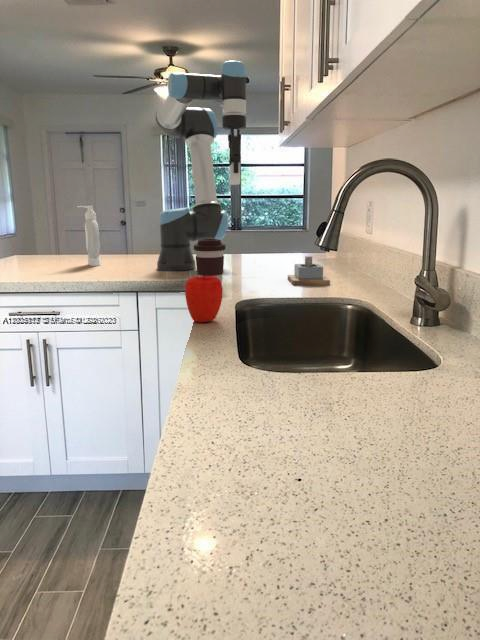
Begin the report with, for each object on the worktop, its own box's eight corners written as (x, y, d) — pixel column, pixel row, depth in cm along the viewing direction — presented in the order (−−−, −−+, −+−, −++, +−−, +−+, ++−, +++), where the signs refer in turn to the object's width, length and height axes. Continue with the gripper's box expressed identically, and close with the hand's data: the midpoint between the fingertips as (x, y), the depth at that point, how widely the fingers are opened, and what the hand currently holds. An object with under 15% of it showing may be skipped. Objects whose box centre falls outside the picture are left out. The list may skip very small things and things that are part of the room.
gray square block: (294, 275, 172) (294, 264, 171) (317, 275, 173) (317, 263, 172) (298, 279, 164) (298, 267, 163) (322, 279, 165) (323, 267, 164)
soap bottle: (80, 263, 217) (75, 205, 211) (99, 262, 220) (94, 205, 214) (83, 267, 206) (78, 206, 200) (102, 266, 208) (98, 205, 202)
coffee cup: (221, 290, 155) (221, 241, 152) (191, 289, 157) (189, 240, 154) (229, 284, 165) (228, 238, 161) (199, 283, 167) (198, 238, 163)
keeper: (287, 279, 174) (287, 254, 172) (321, 278, 175) (322, 254, 173) (293, 285, 163) (293, 259, 161) (329, 284, 163) (330, 258, 161)
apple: (214, 327, 113) (213, 279, 110) (179, 324, 116) (177, 277, 113) (228, 318, 121) (228, 273, 118) (195, 315, 124) (194, 271, 121)
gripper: (221, 120, 172) (222, 185, 177) (223, 109, 148) (224, 183, 153) (243, 120, 172) (243, 185, 178) (249, 109, 148) (249, 183, 154)
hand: (234, 184), depth 165 cm, fingers open, 13 cm apart
